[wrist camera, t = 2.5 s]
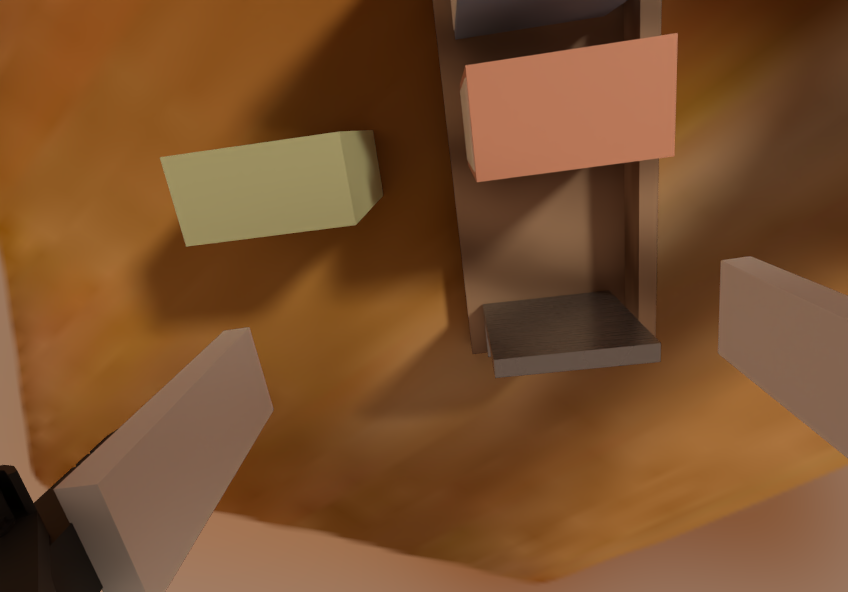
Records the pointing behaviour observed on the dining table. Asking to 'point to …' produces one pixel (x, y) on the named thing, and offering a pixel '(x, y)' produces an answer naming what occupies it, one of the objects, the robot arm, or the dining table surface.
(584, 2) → the blue-grey block
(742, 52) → the dining table surface
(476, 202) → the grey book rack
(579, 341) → the bookend
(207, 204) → the olive book
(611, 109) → the rust book
